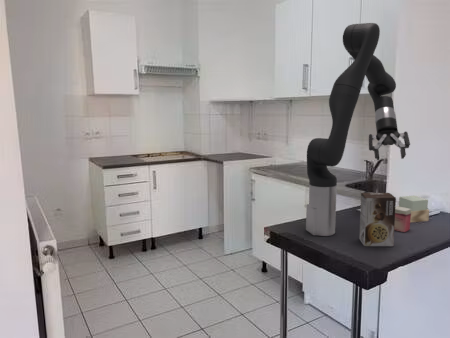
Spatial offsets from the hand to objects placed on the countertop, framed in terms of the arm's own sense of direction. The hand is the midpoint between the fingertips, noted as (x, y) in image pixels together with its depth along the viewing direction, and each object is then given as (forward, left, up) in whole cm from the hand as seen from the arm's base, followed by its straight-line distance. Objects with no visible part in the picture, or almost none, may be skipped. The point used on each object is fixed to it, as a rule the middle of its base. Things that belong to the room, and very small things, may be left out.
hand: (390, 158), depth 134 cm
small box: (-3, -11, -24) cm, 27 cm away
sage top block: (+10, -1, -20) cm, 22 cm away
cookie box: (-19, -20, -24) cm, 37 cm away
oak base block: (+10, -1, -24) cm, 27 cm away
